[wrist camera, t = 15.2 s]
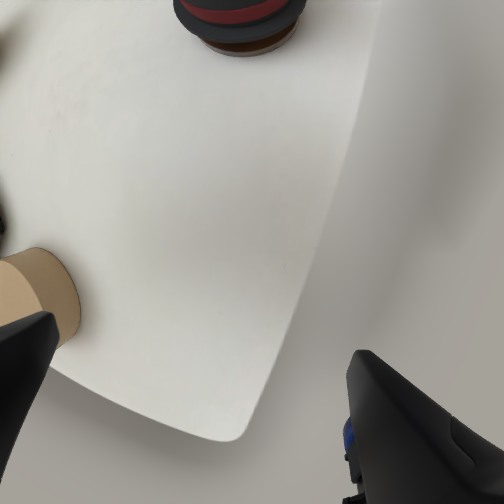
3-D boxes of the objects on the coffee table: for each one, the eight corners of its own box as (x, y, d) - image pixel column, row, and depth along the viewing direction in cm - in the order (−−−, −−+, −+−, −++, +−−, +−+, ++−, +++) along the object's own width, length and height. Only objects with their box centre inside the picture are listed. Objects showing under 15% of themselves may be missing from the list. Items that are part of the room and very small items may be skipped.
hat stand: (305, -15, 15) (306, -38, 12) (290, 63, 16) (290, 45, 14) (207, -21, 15) (197, -42, 12) (184, 54, 17) (168, 37, 14)
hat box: (79, 259, 22) (43, 276, 17) (84, 353, 24) (57, 378, 20) (13, 239, 22) (-21, 249, 18) (21, 322, 25) (-6, 340, 20)
